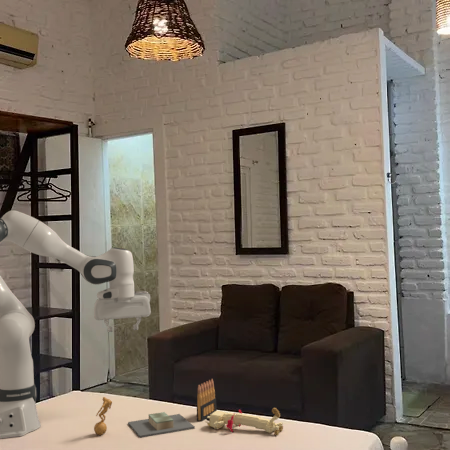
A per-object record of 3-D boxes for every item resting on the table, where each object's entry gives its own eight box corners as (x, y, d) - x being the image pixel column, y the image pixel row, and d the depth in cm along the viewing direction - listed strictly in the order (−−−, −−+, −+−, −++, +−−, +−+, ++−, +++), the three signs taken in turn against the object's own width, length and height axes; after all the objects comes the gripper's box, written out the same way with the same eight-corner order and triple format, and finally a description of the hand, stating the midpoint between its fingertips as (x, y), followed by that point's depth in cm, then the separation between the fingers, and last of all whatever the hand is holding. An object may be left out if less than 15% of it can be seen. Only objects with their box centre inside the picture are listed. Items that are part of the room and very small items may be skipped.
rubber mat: (139, 437, 190) (139, 435, 190) (128, 423, 205) (128, 422, 205) (194, 428, 197) (194, 426, 197) (179, 415, 212) (179, 413, 212)
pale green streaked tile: (173, 427, 197) (164, 419, 206) (173, 419, 197) (164, 411, 206) (157, 430, 195) (148, 421, 204) (156, 422, 195) (148, 414, 204)
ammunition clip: (201, 421, 204) (200, 385, 204) (196, 421, 205) (195, 385, 205) (217, 412, 213) (215, 378, 213) (212, 412, 214) (210, 377, 214)
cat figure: (284, 432, 193) (212, 419, 203) (285, 405, 193) (213, 393, 203) (274, 442, 184) (199, 428, 194) (275, 413, 184) (200, 401, 194)
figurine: (101, 430, 199) (100, 393, 200) (118, 431, 197) (116, 393, 198) (88, 438, 191) (86, 400, 192) (105, 439, 190) (103, 400, 190)
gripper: (148, 290, 228) (149, 327, 227) (92, 293, 220) (93, 331, 220) (152, 291, 222) (153, 329, 221) (95, 294, 214) (96, 334, 214)
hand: (123, 330), depth 221 cm, fingers open, 8 cm apart
